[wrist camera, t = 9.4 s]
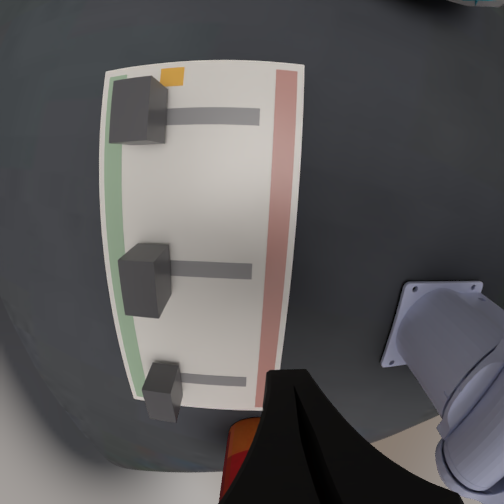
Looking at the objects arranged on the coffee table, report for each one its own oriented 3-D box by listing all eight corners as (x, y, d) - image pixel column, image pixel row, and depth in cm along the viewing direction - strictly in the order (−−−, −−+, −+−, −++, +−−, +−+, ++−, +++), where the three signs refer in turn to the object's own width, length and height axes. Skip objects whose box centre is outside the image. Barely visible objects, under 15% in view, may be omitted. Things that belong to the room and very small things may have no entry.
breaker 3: (178, 365, 19) (170, 393, 16) (183, 394, 20) (176, 422, 17) (152, 362, 19) (141, 389, 16) (158, 391, 20) (150, 418, 17)
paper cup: (269, 456, 26) (276, 563, 13) (206, 439, 25) (193, 556, 11) (311, 420, 24) (337, 546, 11) (241, 399, 23) (239, 547, 9)
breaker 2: (168, 244, 16) (153, 261, 13) (171, 294, 17) (159, 318, 14) (137, 243, 16) (117, 259, 13) (142, 291, 17) (125, 315, 14)
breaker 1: (168, 89, 14) (151, 75, 11) (164, 143, 14) (146, 140, 12) (135, 92, 13) (113, 80, 11) (132, 145, 14) (108, 143, 12)
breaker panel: (299, 72, 15) (304, 64, 13) (272, 398, 23) (273, 410, 21) (115, 77, 15) (105, 71, 13) (138, 387, 22) (133, 399, 21)
